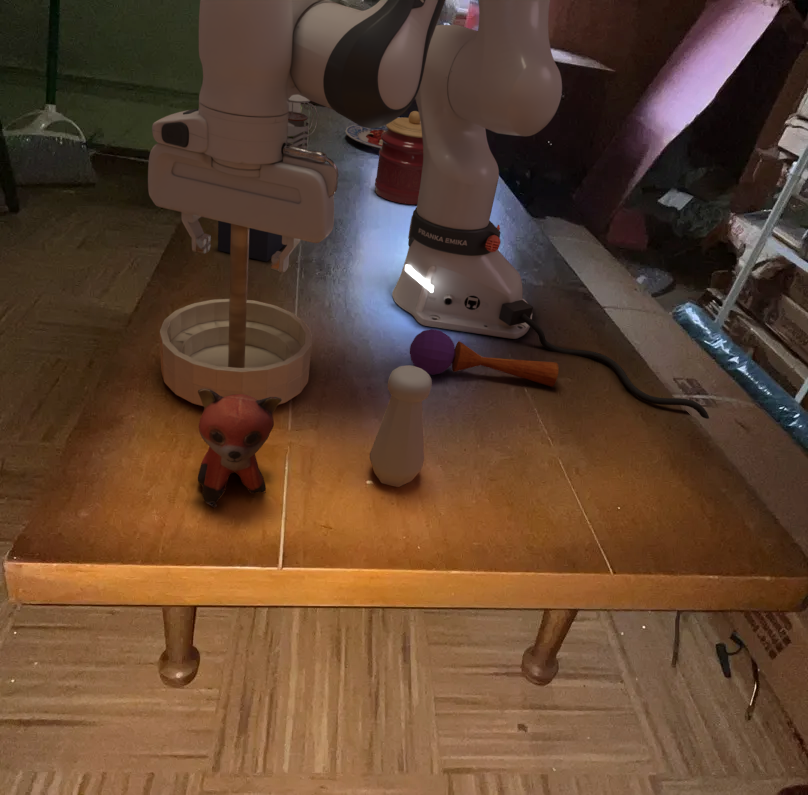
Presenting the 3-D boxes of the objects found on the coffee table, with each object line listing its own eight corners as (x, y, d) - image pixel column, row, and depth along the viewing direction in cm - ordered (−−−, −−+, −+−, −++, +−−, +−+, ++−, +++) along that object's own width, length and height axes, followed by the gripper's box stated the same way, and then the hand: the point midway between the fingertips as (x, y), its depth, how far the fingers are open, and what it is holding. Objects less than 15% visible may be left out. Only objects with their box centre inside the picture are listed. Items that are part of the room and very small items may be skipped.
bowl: (326, 358, 97) (330, 318, 94) (277, 430, 82) (280, 386, 79) (202, 327, 99) (202, 287, 96) (133, 392, 84) (130, 347, 81)
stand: (285, 244, 127) (287, 211, 124) (266, 262, 120) (268, 227, 116) (239, 233, 128) (240, 200, 125) (217, 250, 121) (218, 215, 117)
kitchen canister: (441, 206, 157) (457, 121, 148) (385, 205, 152) (398, 117, 143) (418, 185, 167) (431, 105, 157) (365, 184, 162) (375, 101, 152)
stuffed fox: (272, 444, 80) (278, 349, 74) (276, 514, 71) (283, 414, 64) (200, 443, 78) (200, 346, 72) (195, 515, 69) (195, 412, 63)
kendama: (565, 373, 95) (415, 345, 92) (548, 405, 99) (405, 379, 96) (558, 344, 99) (416, 316, 96) (543, 375, 103) (405, 350, 100)
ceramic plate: (334, 128, 199) (335, 117, 198) (422, 135, 208) (424, 124, 206) (358, 157, 179) (359, 144, 178) (454, 163, 188) (456, 151, 186)
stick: (247, 368, 91) (253, 196, 79) (240, 376, 89) (246, 201, 77) (232, 365, 91) (236, 192, 79) (225, 372, 89) (228, 197, 78)
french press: (259, 153, 169) (264, 35, 156) (300, 150, 177) (308, 37, 163) (283, 166, 164) (290, 45, 150) (324, 162, 171) (335, 46, 158)
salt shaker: (419, 460, 82) (439, 361, 74) (421, 494, 77) (443, 391, 70) (367, 455, 81) (382, 354, 74) (366, 489, 76) (383, 385, 69)
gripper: (349, 149, 76) (336, 270, 84) (168, 109, 79) (171, 231, 86) (330, 163, 71) (318, 292, 79) (136, 120, 73) (143, 249, 81)
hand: (240, 260), depth 82 cm, fingers open, 8 cm apart
